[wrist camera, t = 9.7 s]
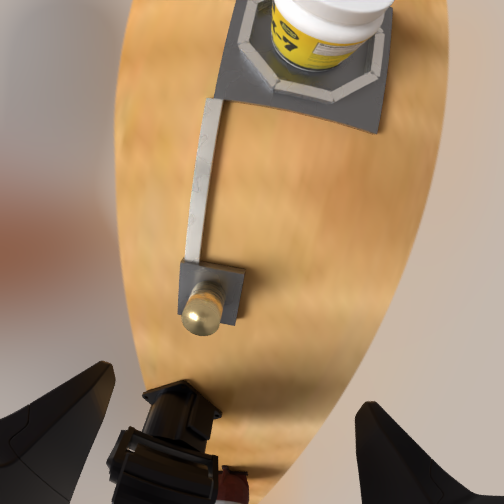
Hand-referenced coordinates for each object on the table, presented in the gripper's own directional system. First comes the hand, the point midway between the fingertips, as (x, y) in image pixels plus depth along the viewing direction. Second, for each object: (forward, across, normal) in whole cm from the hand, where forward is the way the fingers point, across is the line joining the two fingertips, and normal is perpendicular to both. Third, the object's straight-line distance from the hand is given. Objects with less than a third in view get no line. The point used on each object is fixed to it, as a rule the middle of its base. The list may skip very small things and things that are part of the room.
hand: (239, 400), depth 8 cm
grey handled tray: (+12, -1, -7) cm, 14 cm away
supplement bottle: (+11, -1, -15) cm, 19 cm away
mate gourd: (+13, -3, +38) cm, 40 cm away
